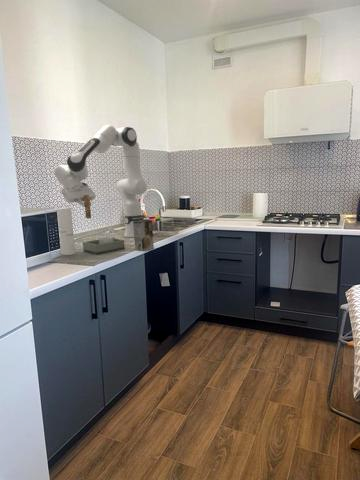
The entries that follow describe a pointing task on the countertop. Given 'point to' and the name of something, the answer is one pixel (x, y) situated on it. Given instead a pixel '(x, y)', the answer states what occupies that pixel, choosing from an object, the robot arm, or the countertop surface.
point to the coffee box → (143, 235)
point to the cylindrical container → (66, 231)
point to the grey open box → (103, 245)
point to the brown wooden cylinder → (87, 206)
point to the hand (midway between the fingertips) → (87, 205)
